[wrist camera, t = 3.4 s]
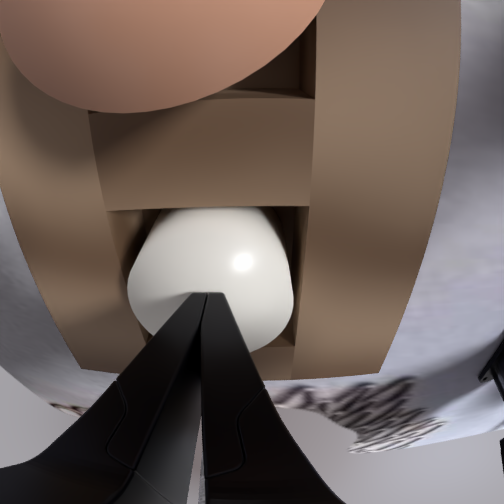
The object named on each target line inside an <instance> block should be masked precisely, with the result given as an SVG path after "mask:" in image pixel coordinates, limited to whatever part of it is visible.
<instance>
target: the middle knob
mask: <svg viewBox="0 0 504 504" xmlns="http://www.w3.org/2000/svg"><path fill="white" fill-rule="evenodd" d="M324 1H325V0H0V34H1V37H2V40H3V43H4V46H5V48H6V50H7V52H8V54H9V56H10V58H11V60H12V61H13V63H14V64H15V65H16V67H17V68H18V69H19V71H20V72H21V73H22V74H23V75H24V76H25V77H26V78H27V79H28V80H29V81H30V82H31V83H32V84H33V85H34V86H36V87H37V88H38V89H40V90H41V91H43V92H44V93H46V94H47V95H49V96H51V97H53V98H55V99H57V100H59V101H61V102H63V103H66V104H69V105H72V106H75V107H78V108H81V109H87V110H92V111H98V112H107V113H136V112H149V111H154V110H160V109H166V108H171V107H175V106H178V105H182V104H185V103H189V102H193V101H196V100H198V99H201V98H203V97H206V96H209V95H211V94H214V93H216V92H219V91H221V90H223V89H225V88H227V87H229V86H231V85H233V84H235V83H237V82H239V81H241V80H243V79H244V78H246V77H247V76H249V75H250V74H252V73H254V72H255V71H257V70H258V69H260V68H262V67H263V66H265V65H266V64H267V63H269V62H270V61H271V60H272V59H274V58H275V57H276V56H277V55H279V54H280V53H281V52H283V51H284V50H285V49H286V48H287V47H288V46H289V45H290V44H291V43H292V42H293V41H294V40H295V39H296V38H297V37H298V36H299V35H300V34H301V33H302V32H303V31H304V30H305V28H306V27H307V26H308V25H309V23H310V22H311V21H312V20H313V18H314V17H315V16H316V15H317V13H318V12H319V10H320V8H321V6H322V5H323V3H324Z"/></svg>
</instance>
